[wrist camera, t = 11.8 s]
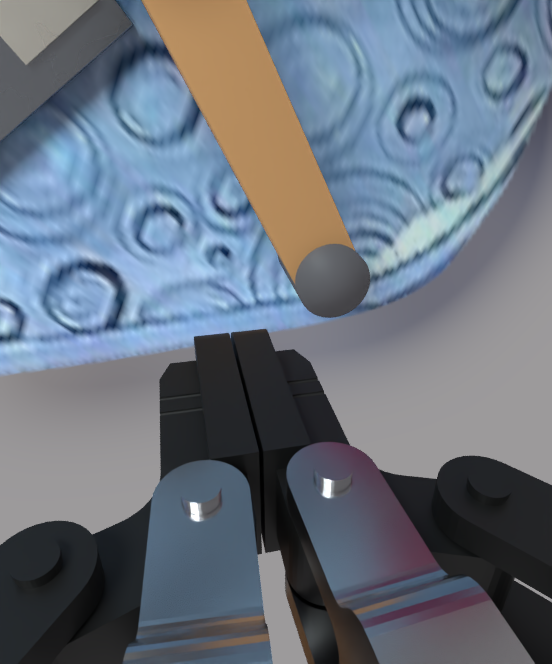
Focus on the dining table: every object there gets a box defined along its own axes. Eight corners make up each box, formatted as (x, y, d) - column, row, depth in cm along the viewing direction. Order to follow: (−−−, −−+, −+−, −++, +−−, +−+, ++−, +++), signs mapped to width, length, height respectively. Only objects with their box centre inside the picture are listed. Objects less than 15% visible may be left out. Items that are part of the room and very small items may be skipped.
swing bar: (104, -61, 18) (91, -90, 14) (182, -110, 18) (189, -151, 14) (293, 288, 26) (316, 329, 23) (347, 259, 26) (379, 295, 22)
